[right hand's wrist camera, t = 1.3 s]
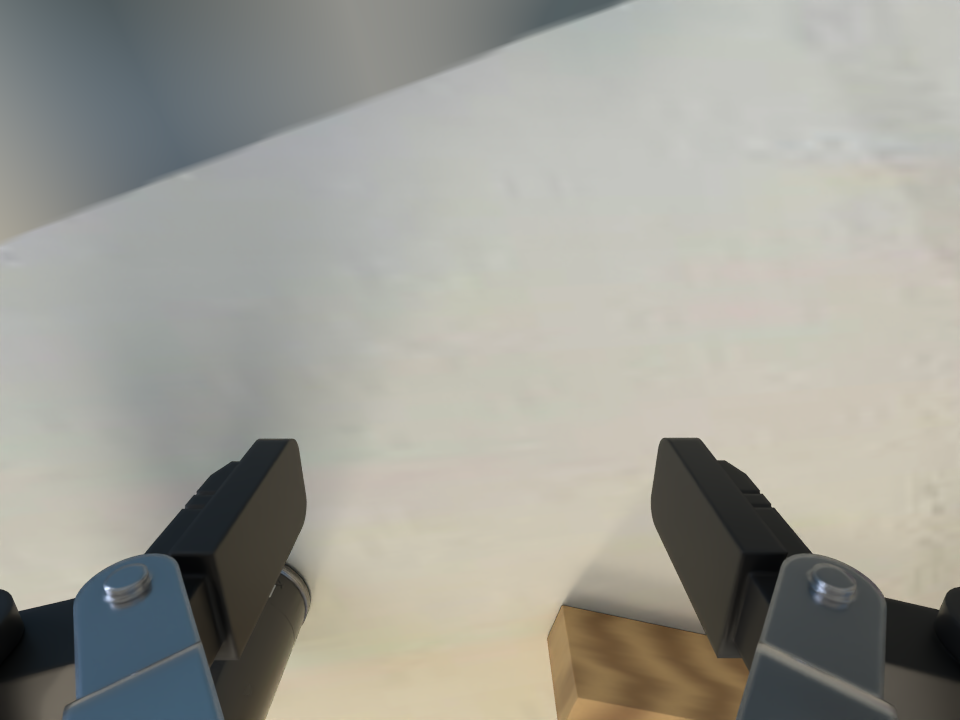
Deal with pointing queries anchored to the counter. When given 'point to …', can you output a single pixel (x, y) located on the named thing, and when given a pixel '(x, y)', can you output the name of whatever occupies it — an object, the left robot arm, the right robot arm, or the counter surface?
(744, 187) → the counter surface
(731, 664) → the post
